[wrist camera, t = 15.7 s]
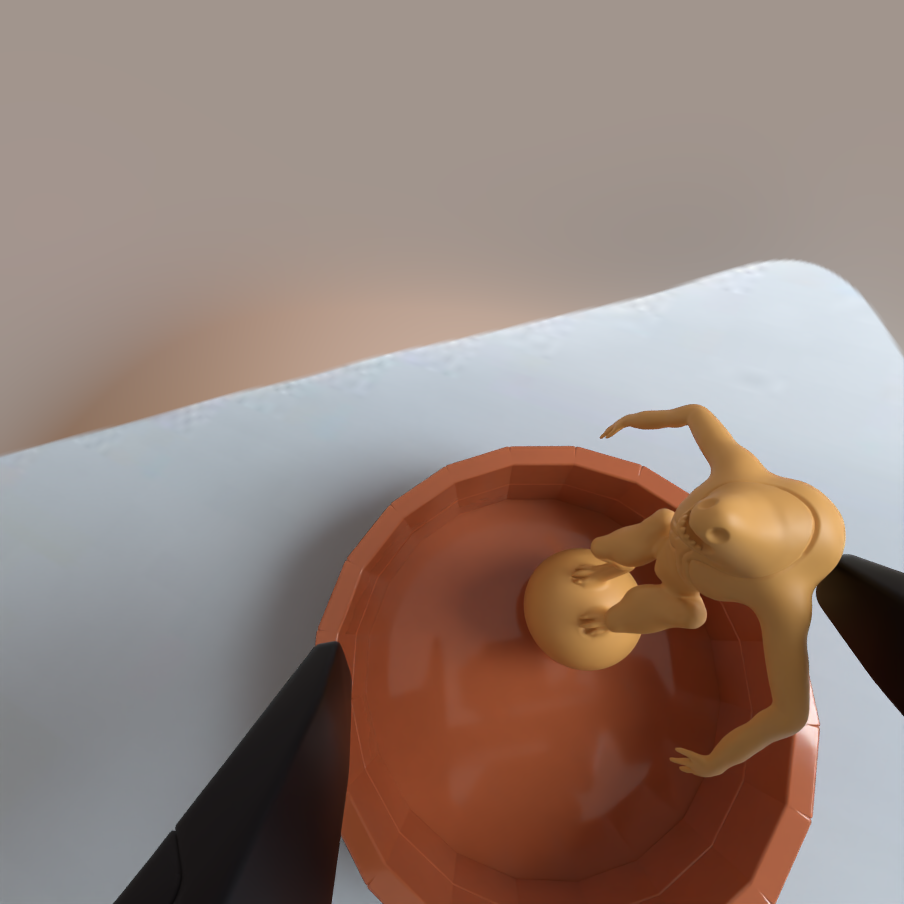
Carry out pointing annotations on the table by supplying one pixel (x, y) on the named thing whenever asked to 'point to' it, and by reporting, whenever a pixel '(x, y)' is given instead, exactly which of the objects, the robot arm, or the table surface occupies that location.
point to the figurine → (700, 578)
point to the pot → (548, 710)
